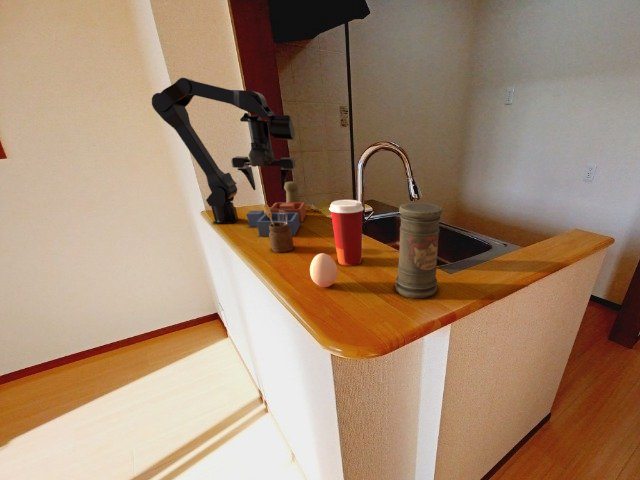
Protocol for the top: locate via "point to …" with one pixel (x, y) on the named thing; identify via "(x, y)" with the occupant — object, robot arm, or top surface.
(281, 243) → the utensil holder
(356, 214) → the coffee cup
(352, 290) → the top surface
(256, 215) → the slate block
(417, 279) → the container
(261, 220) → the blue bin
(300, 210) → the terracotta bin
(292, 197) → the cork
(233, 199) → the robot arm
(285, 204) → the terracotta block
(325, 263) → the egg
